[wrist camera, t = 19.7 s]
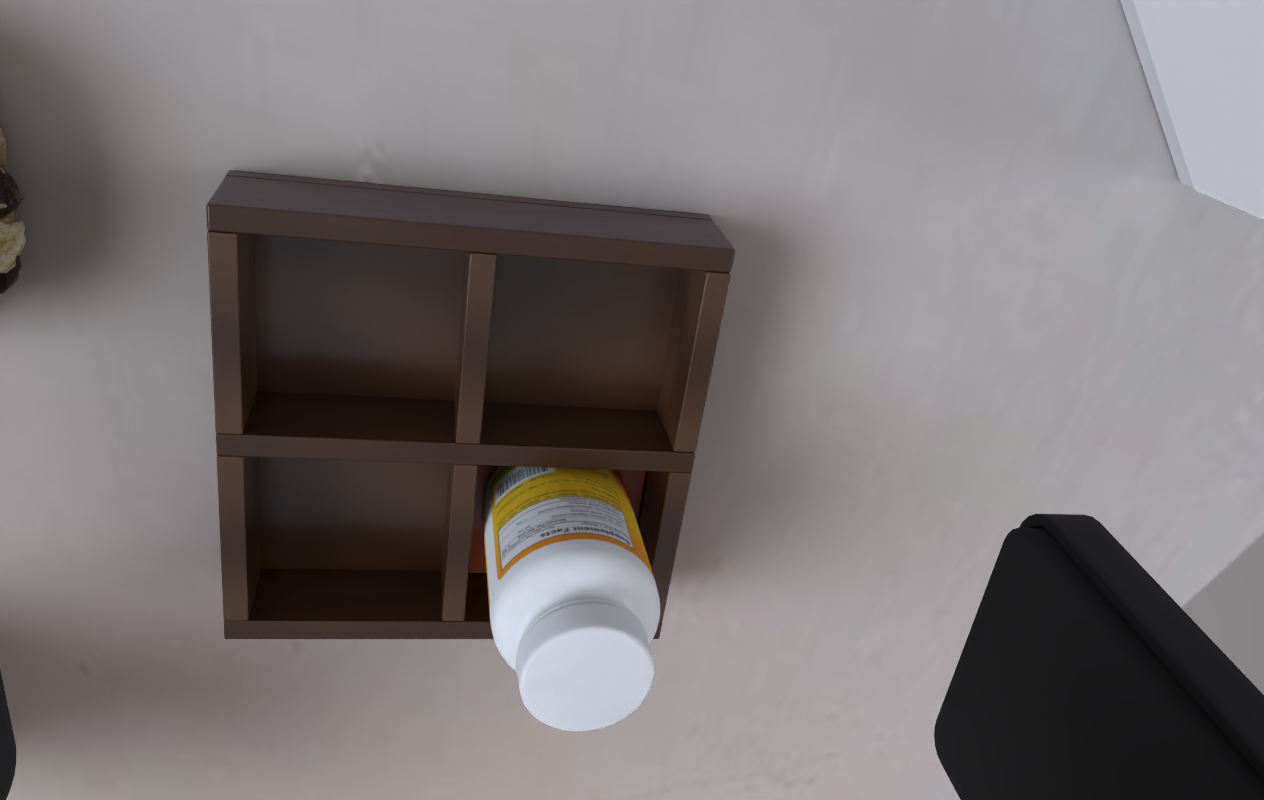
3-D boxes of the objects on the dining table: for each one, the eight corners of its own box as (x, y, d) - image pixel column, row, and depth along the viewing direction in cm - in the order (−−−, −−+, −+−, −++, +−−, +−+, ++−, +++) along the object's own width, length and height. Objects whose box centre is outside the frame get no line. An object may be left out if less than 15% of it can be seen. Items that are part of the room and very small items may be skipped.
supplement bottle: (598, 569, 40) (642, 761, 31) (463, 543, 38) (472, 738, 30) (646, 454, 38) (707, 626, 29) (505, 421, 36) (527, 593, 28)
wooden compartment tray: (228, 169, 31) (205, 204, 28) (709, 214, 35) (736, 249, 31) (241, 575, 38) (224, 639, 35) (642, 580, 41) (659, 639, 38)
